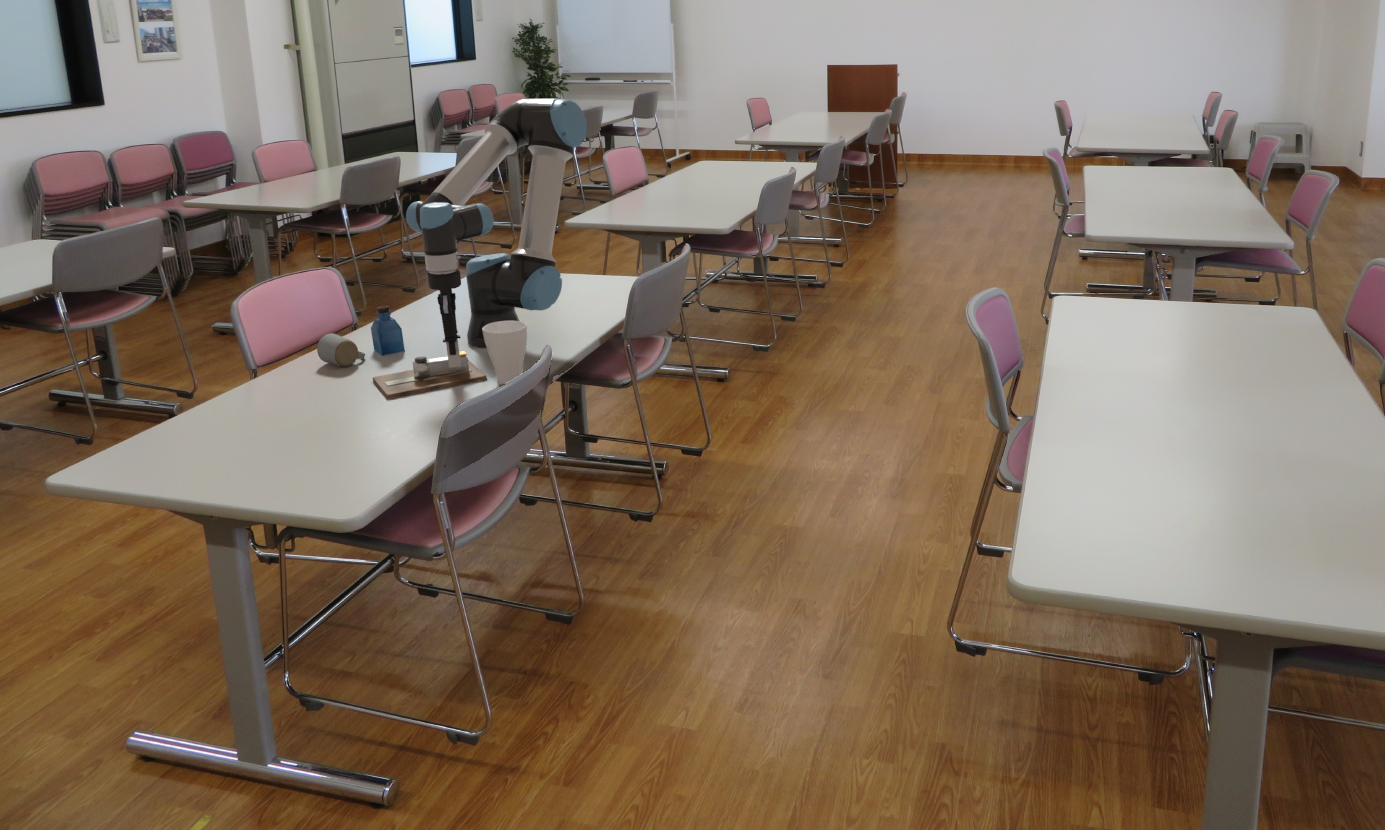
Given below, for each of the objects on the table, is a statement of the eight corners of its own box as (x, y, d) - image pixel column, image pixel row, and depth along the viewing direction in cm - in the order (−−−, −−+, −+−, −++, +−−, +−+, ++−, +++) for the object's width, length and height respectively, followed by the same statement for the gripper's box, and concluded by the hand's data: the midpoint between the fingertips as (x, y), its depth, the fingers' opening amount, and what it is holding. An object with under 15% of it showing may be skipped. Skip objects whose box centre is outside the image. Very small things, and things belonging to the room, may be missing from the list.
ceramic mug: (338, 371, 268) (333, 342, 265) (318, 365, 272) (314, 337, 270) (372, 360, 276) (369, 332, 273) (353, 355, 280) (349, 327, 278)
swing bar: (415, 379, 255) (413, 362, 253) (413, 374, 258) (411, 357, 257) (469, 371, 259) (467, 354, 257) (467, 366, 262) (465, 350, 261)
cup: (504, 371, 263) (499, 318, 258) (540, 376, 258) (535, 322, 253) (479, 384, 254) (473, 330, 249) (515, 390, 250) (510, 335, 245)
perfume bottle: (404, 351, 282) (398, 307, 277) (382, 355, 279) (375, 311, 274) (396, 345, 287) (390, 302, 282) (374, 350, 283) (367, 306, 279)
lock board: (468, 363, 270) (465, 341, 268) (486, 379, 257) (484, 356, 255) (373, 381, 259) (369, 358, 257) (387, 398, 247) (384, 375, 245)
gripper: (458, 275, 243) (469, 373, 252) (461, 263, 255) (471, 357, 263) (424, 277, 242) (437, 375, 251) (429, 266, 254) (441, 359, 263)
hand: (454, 366), depth 257 cm, fingers closed
